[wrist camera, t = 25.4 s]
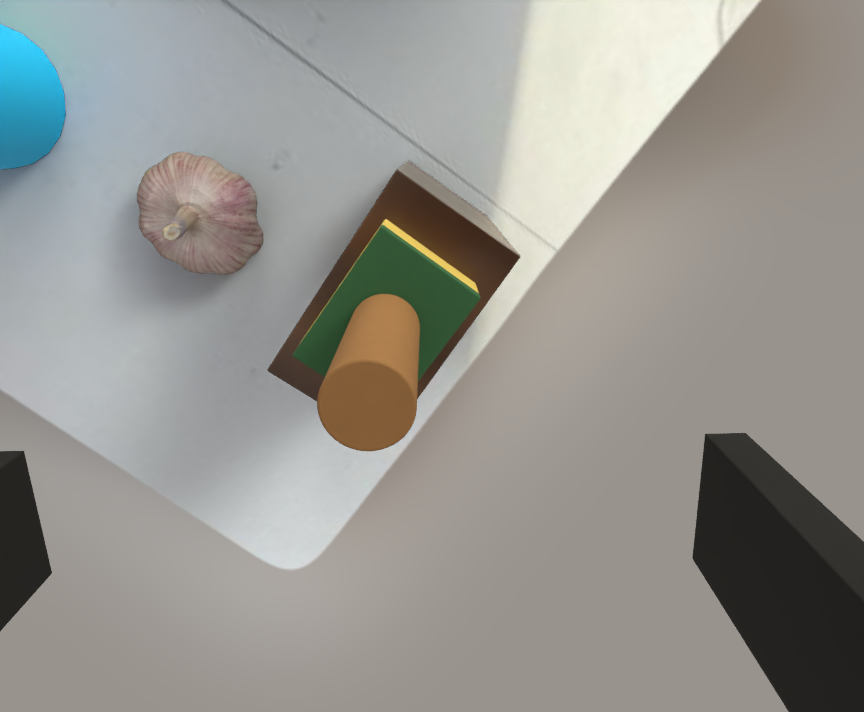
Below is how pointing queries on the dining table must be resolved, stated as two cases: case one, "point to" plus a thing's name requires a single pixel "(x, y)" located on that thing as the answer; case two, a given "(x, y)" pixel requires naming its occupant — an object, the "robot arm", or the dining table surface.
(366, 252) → the sponge
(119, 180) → the dining table surface
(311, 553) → the dining table surface
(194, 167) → the garlic bulb
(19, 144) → the mug
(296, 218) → the dining table surface
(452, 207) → the stand
